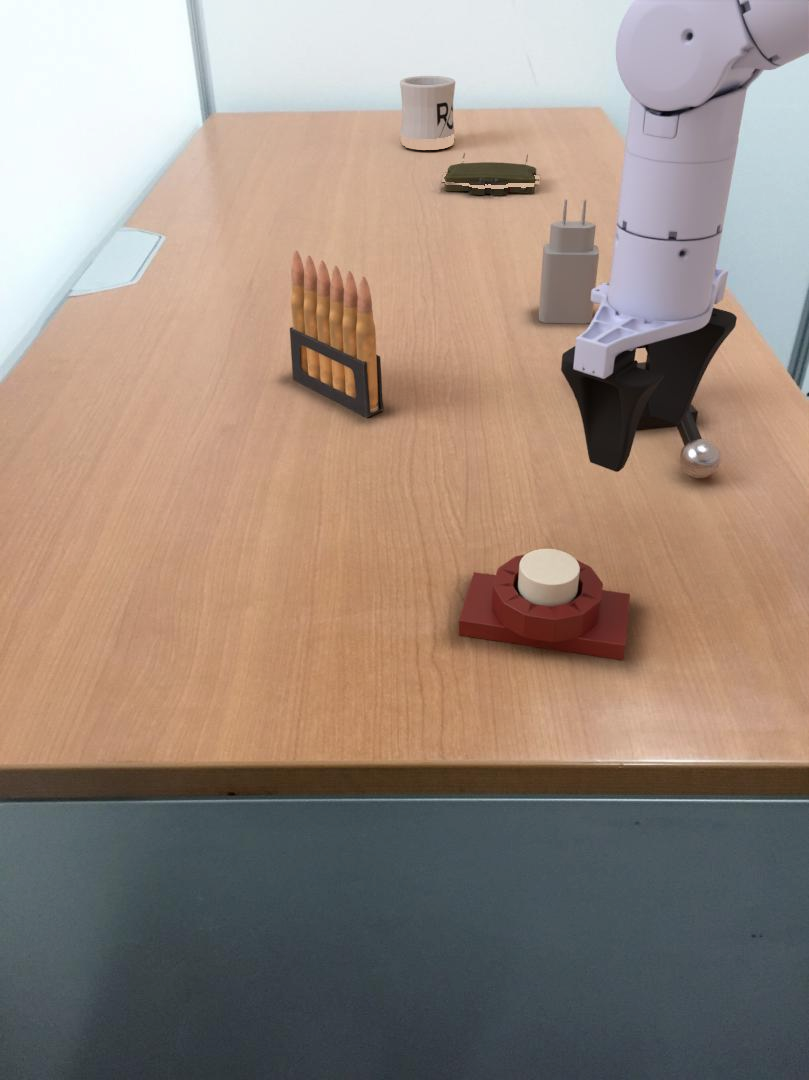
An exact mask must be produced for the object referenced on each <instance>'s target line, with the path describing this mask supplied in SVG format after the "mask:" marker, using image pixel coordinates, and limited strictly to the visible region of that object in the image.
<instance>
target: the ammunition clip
mask: <svg viewBox="0 0 809 1080" xmlns="http://www.w3.org/2000/svg"><path fill="white" fill-rule="evenodd" d="M290 269H291V270H290V275H291V296H290V297H291V298H290V308H291V318H292V326H291V327H289V336H290V337H289V339H290V341H289V342H290V356H291V357H290V358H291V367H292V368H291V372H292V381H293V380H294V381H295V382H297V383H299V384H301V385H303V386H305V387H307V388H309V389H311V390H312V391H315V392H316V393H318V394H319V395H320V394H321V395H322V396H324V397H326V398H328V399H330V400H332V401H334V402H335V403H337V404H339V405H341V406H343V407H345V408H347V409H349V410H351V411H353V412H355V413H357V414H359V415H361V416H362V417H364V418H366V419H367V418H370V417H371V416H374V415H376V414H379V413H380V412H382V411H384V399H383V381H382V361H381V355H378V354H377V334H376V332H377V331H376V325H375V321H374V311H373V302H372V301H373V300H372V294H371V289H370V286H369V282H368V280H367V278H366V277H365V276H362V277H361V279H360V281H359V284H358V289H357V284H356V283H357V282H356V280H355V278H354V277H355V276H354V274H353V272H352V271H350V270H349V271H348V272H347V273H346V275H345V279H344V281H343V277H342V274H341V271H340V268H339V267H338V266H337V265H334V266H333V268H332V272H331V276H330V273H329V270H328V267H327V264H326V262H325V261H324V260H321V261H320V263H319V265H318V270H317V269H316V265H315V261H314V259H313V258H312V256H311V255H307V257H306V260H305V264H303V260H302V257H301V255H300V253H299V251H298V250H295V251H294V252H293V255H292V260H291V267H290Z"/></svg>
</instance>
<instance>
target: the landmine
mask: <svg viewBox="0 0 809 1080" xmlns="http://www.w3.org/2000/svg"><path fill="white" fill-rule="evenodd" d="M465 156H466V153H465V152H464V153H463V156H462V159H463V158H464V159H465ZM528 157H529V154H526V157H525V158H526V159H525V163H526V162H527V163H528ZM446 173H447V174H446V176H445V177H444V179H445V181H446V182H454V183H469V184H470V185H484V186H485V184H487V185H488V184H491V185H506V184H508V183H535V181H539V179H535V176H534V175H537V167H535V166H532V165H528V164H527V165H526V164H523V163H511V162H497V161H492V162H491V161H490V162H489V161H488V162H487V161H485V162H484V161H482V162H463V163H462V162H461V163H455V164H451V165H449V166H448V167H447V172H446ZM440 184H444V190H445V191H446V192H468V194H470V195H472V196H473V195H474V196H475V195H476V196H485V194H486V195H487V194H488V195H490V196H500V197H501V196H503V197H504V196H507V195H508V194H511V193H515V194H516V193H517V194H534V193H535V188H536V185H535V186H534V187H526V188H521V187H508V188H504V189H491V188H485V189H478V188H472V187H469V186H462V185H446V184H445V182H440Z"/></svg>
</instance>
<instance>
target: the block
mask: <svg viewBox="0 0 809 1080" xmlns="http://www.w3.org/2000/svg"><path fill="white" fill-rule="evenodd" d="M526 554H527V553H525V554H520V555H516V556H513V557H512V558H511V559H509V560H508V561H506V562H505V563H504V564H502V565H500V566H499V567H498V568H497V570H496V574H491V573H490V574H489V573H484V572H483V573H482V572H475V571H474V572H473V573H472V577H471V580H470V583H469V587H468V589H467V593H466V595H465V599H464V602H463V606H462V609H461V613H460V614H459V615H460V616H459V619H458V635H459V636H464V637H470V638H476V639H482V640H489V641H495V642H503V643H509V644H514V645H515V644H516V645H523V646H529V647H535V648H542V649H548V650H554V651H561V652H569V653H575V654H581V655H586V656H587V655H588V656H595V657H601V658H606V659H607V658H608V659H615V660H621V661H623V660H624V657H625V651H626V644H627V632H628V621H629V611H630V599H631V594H630V593H627V592H618V591H612V590H605V589H603V588H604V587H603V586H604V583H603V581H602V580H601V578H600V577H599V576H598V574H597V573H596V572H595V570H594V569H593V567H592V566H590V565H588V564H586V563H584V562H582V561H581V560H578V559H576V560H577V562H578V564H579V566H580V573H579V582H578V590H577V595H576V596H575V598H574V599H573V600H572V601H571V602H569V603H567V604H563V605H558V606H553V607H552V606H545V605H539V604H533V603H532V602H530V601H528V600H526V599H525V598H523V597H522V595H521V594H520V592H519V590H518V578H519V565H520V561H521V559H522V558H523V556H524V555H526Z"/></svg>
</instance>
